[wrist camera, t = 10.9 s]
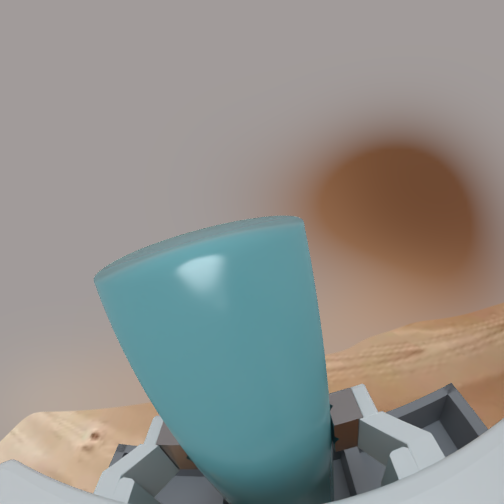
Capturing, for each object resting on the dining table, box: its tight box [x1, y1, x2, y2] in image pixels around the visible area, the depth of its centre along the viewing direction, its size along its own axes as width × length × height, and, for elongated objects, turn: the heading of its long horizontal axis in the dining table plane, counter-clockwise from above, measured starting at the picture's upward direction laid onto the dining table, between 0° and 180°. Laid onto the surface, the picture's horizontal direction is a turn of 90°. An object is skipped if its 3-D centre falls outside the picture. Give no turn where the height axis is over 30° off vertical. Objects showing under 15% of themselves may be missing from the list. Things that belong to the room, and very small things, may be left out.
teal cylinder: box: [94, 216, 334, 504], centre depth 8 cm, size 5×5×15 cm
